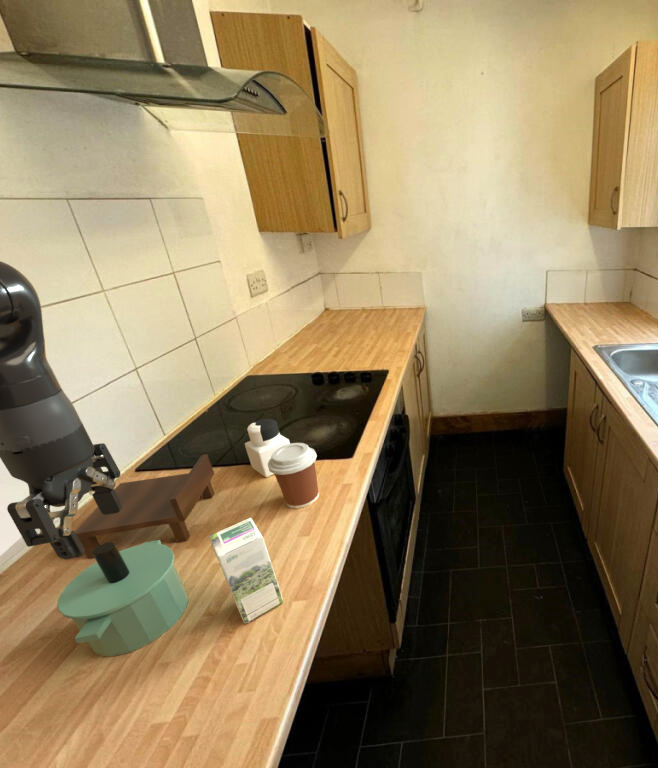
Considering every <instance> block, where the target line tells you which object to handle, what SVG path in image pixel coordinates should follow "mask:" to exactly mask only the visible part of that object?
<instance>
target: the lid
mask: <svg viewBox="0 0 658 768" xmlns="http://www.w3.org/2000/svg"><path fill="white" fill-rule="evenodd" d="M92 555H93V556H94V558H93V559H94V560H95V562H94V563H92V564H91V565H89V566H88V567H86V568H85V569H84V570H82V571H81V572H80V573H78V574H77V575H76V576H75V577H73V579H71V580H70V582H68V584H67V585H66V586H65V587H64V588H63V590H62V591H61V592H60V595H59V597H58V599H57V610H58V611H59V613H60V614H61V615H62V616H63V617H65V618H67V619H69V620H72V619H77V620H81V619H90V618H95V617H99V616H103V615H106V614H109V613H111V612H114V611H116V610H119V609H121V608H123V607H125V606H127V605H129V604H131V603H133V602H135V601H136V600H138V599H140V598H141V597H143V596H144V595H146V594H147V593H148V592H150V591H151V590H152V589H154V588H155V587H156V586H157V585H158V584H159V583H160V582H161V581H162V580H163V579H164V578H165V577H166V576H167V575H168V573H169V572H170V570H171V568H172V566H173V564H174V565H175V559H176V557H175V554H174V551H173V549H172V548H171V547H169V546H168V545H166V544H163V543H162V544H155V543H152V544H143V545H142V544H138V545H134V546H130V547H127V548H124V549H120V550H119V549H118V547H117V545H116V543H115V542H114V541H106V542H103V543H102V544H101V543H100V545H99V546H98V547H96V548H95V549H94V550H93V551H92Z"/></svg>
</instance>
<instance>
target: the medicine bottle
mask: <svg viewBox="0 0 658 768" xmlns="http://www.w3.org/2000/svg"><path fill="white" fill-rule="evenodd" d="M278 426H279V425H278V423H277V421H276V420H275V419H272V418H263V419H259V420H255V421H253V422H251V423H250V424H248V426H247V428H246V429H247V434H248V437H249V441H247V442H245V443H244V447H245V450H246V453H247V457H248V459H249V462H250V466H251V469H253V470H254V471H256V472H257V473H259V474H260V475H261V476H262V477H264V478H269V477H271V476H273V475H275V474H274V473H272V472H270V471H269V468H268V465H267V464H268V462H269V460H270V459H271V456H272V454H273V452H274V451H276V450H277V449H278V448H280V447H282V446H284V445H288V444H291V442H290V439H289V438H287V437H285V436H284V435H282V434H281V432H280V430H279V427H278Z"/></svg>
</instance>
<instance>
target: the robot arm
mask: <svg viewBox="0 0 658 768" xmlns="http://www.w3.org/2000/svg"><path fill="white" fill-rule="evenodd" d="M41 305H42V304H41V300H40V298H39V294H38V291H36V289H35V287H34V285H33V284H32V283H31V281H30V280H29V279H28V278H27V276H26V275H24V274H23V273H22V272H21V271H20V270H18V269H17V268H16V267H14V266H12V265H10V264H8V263H6V262H4V261H1V260H0V460H1V462H2V463H3V465H4V466H5V469H6V470H7V471H8V473H9V474H10V476H11V477H12V478H13V479H17V480H19V481H22V482H24V483H26V484H27V486H28V494H29V495H28V496H27V497H25V498H24V499H22V500H20V501H15V502H10V503H8V505H7V508H6V510H7V513H8V514H9V516H10V518H11V520H12V522H13V523H14V525H15V527H16V529H17V530H18V532H19V534H20V536H21V537H22V539H23V541H24V543H25V545H26V546H27V547H30V548H31V547H37V546H40V545H41V546H42V545H45V544H46V545H47V544H50V546H51V548H52V549H53V551H54V552H55V554H56V556H57V557H58V558H60V559H61V560H70V559H77V558H80V557H82V556H83V555H84V553H85V549H84V547H83V545H82V544H81V542H80V540H79V538H78V537H77V535H76V533H75V531H76V530H73V517H74V516H76V515H77V514H78V511H79V509H78V508H79V507H78V506H79V502H80V501H81V500H82V498H83V497H84V495H86V494H89V492H91V493H92V494H91V496H92V498H93V500H94V501H95V503H96V505H97V507H99V509H100V511H101V513H102V514H104V515H107V514H113V513H118V512H119V511H120V510H121V509H122V506H121V504H120V500H119V498H118V496H117V494H116V492H115V490H114V489H115V488H116V482H115V480H116V479H118V478H120V477H121V471H120V468H119V467H118V465H117V463H116V461H115V459H114V458H113V456H112V454H111V452H110V451H109V448H108V447H107V445H106V443H103V442H102V443H93V441H92V440H91V438H90V435H89V433H88V432H87V430H86V427H85V425H84V423H83V421H82V420H81V418H80V416H79V414H78V411H77V410H76V407H75V406H74V404H73V402H72V401H71V400H70V398H69V397H68V396H67V394H66V393H65V391H64V390H63V388H62V386H61V384H60V382H59V380H58V378H57V376H56V373H55V372H54V370H53V368H52V366H51V364H50V363H49V361H48V358H47V353H46V339H45V332H44V321H43V312H42V311H43V309H42V306H41ZM103 468H106V471H104V470H103ZM51 507H55V508H62V507H64V508H63V509H62V510H57V511H51ZM55 519H59V526H57V527H56V525H55V522H54V521H55ZM37 530H39V533H38V532H37Z"/></svg>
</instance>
